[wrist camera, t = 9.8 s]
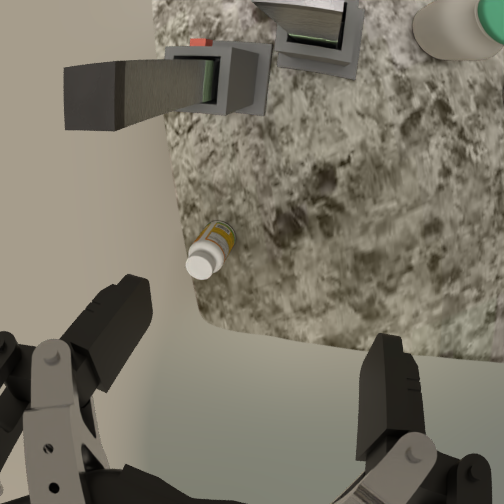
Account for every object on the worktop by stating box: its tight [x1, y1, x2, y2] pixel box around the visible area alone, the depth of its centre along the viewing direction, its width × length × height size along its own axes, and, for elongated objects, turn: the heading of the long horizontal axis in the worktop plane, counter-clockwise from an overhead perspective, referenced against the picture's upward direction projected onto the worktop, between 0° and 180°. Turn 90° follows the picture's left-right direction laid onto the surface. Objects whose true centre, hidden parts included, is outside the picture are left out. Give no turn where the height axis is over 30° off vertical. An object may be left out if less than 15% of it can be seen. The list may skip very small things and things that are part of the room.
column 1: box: [64, 59, 220, 131], centre depth 24 cm, size 4×4×22 cm
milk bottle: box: [413, 0, 504, 61], centre depth 21 cm, size 8×8×20 cm
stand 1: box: [165, 39, 273, 116], centre depth 34 cm, size 10×10×13 cm
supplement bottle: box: [186, 221, 235, 280], centre depth 49 cm, size 5×5×10 cm
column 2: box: [252, 0, 344, 50], centre depth 19 cm, size 4×4×22 cm
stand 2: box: [274, 0, 365, 80], centre depth 28 cm, size 10×10×13 cm
